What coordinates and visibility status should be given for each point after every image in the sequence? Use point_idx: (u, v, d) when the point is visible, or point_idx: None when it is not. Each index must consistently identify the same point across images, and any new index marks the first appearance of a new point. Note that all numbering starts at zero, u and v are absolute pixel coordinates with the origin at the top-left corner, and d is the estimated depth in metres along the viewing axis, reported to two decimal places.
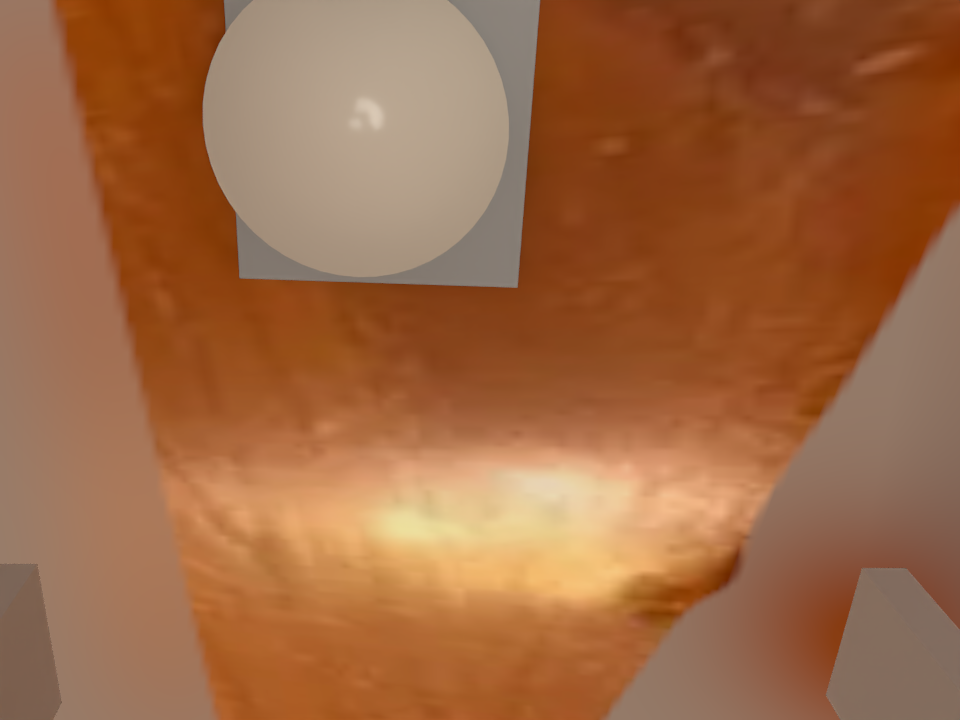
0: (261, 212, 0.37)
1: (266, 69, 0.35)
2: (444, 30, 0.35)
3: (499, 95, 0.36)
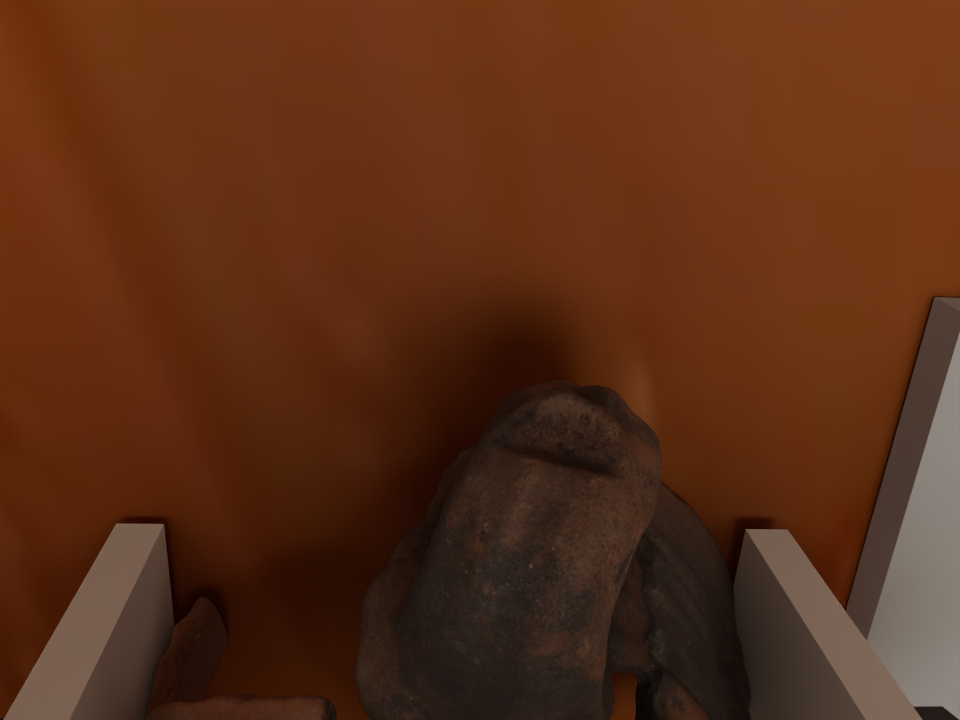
0: None
1: None
2: None
3: None
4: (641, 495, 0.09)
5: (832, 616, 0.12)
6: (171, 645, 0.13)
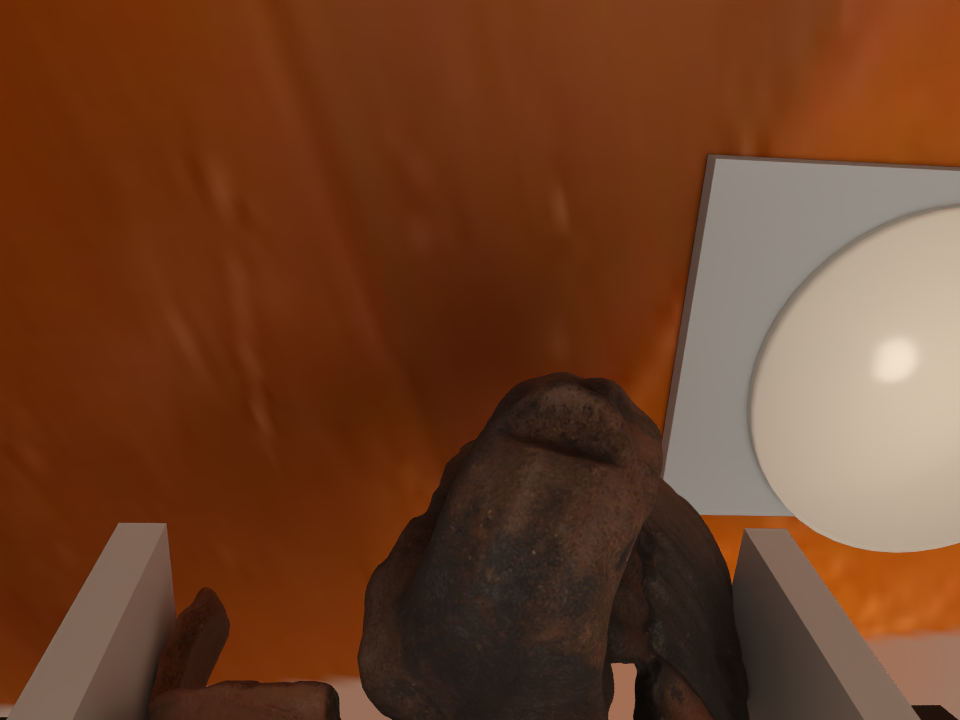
0: None
1: (850, 488, 0.30)
2: (846, 294, 0.27)
3: (938, 223, 0.26)
4: (642, 485, 0.09)
5: (830, 615, 0.12)
6: (175, 634, 0.13)
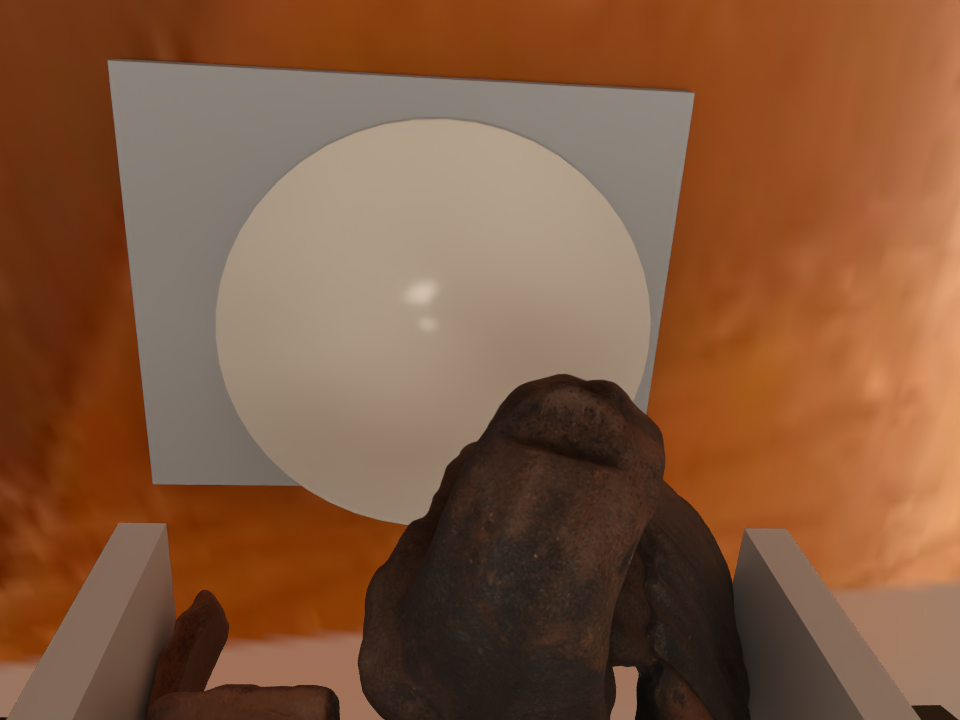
0: None
1: (358, 452, 0.26)
2: (290, 222, 0.23)
3: (378, 137, 0.23)
4: (645, 487, 0.09)
5: (830, 615, 0.12)
6: (173, 637, 0.13)
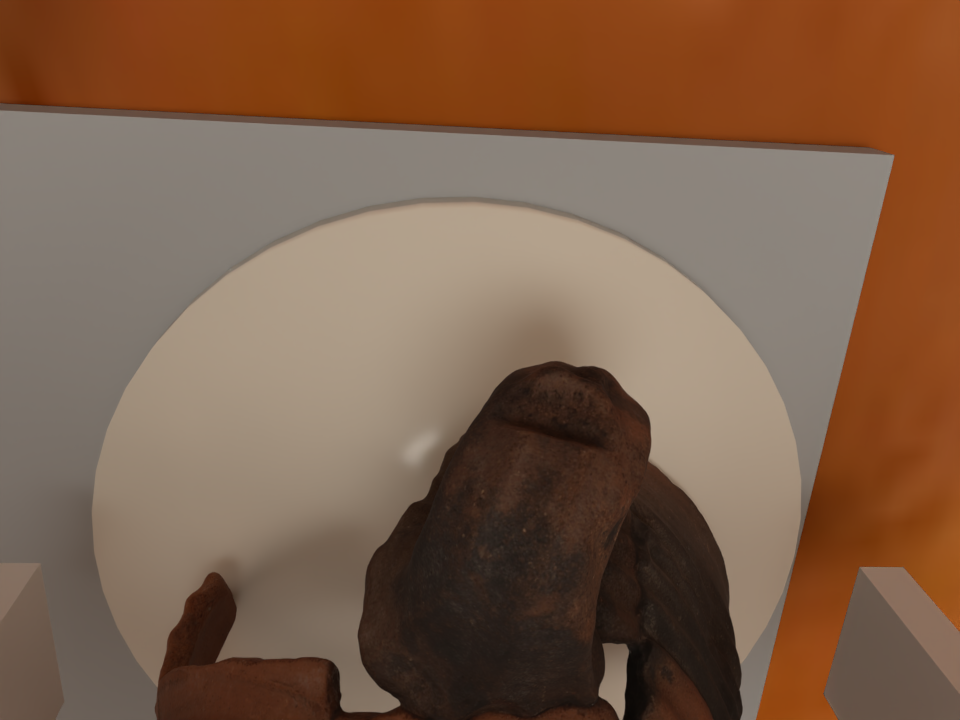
0: None
1: None
2: (210, 375, 0.14)
3: (359, 236, 0.13)
4: (630, 467, 0.09)
5: None
6: (183, 616, 0.14)
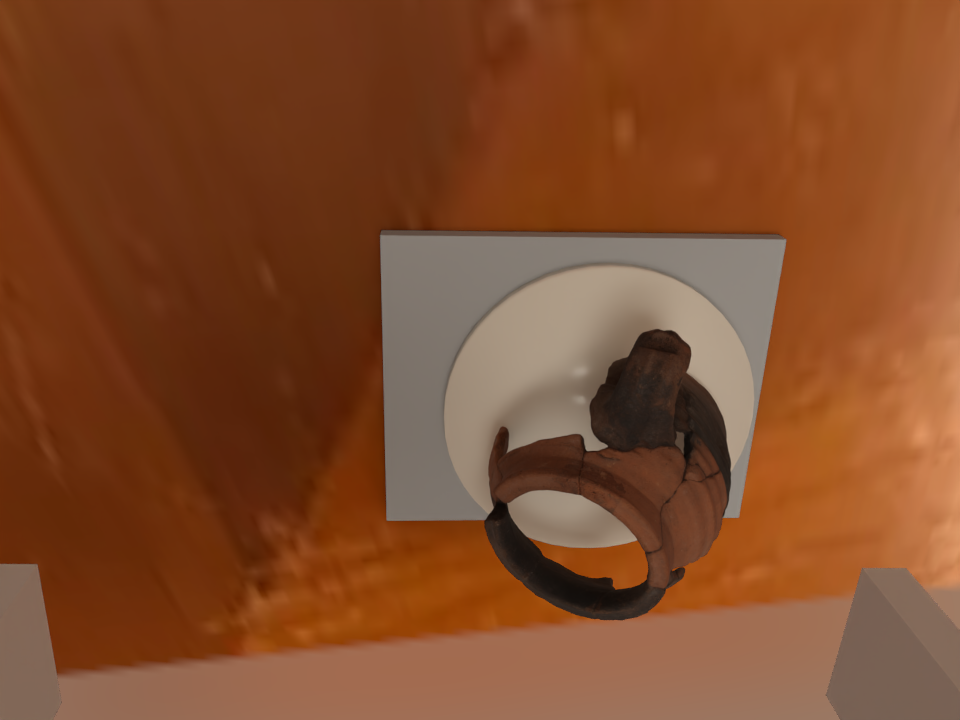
0: None
1: (539, 496, 0.36)
2: (501, 339, 0.33)
3: (566, 281, 0.33)
4: (685, 360, 0.28)
5: None
6: (497, 441, 0.33)
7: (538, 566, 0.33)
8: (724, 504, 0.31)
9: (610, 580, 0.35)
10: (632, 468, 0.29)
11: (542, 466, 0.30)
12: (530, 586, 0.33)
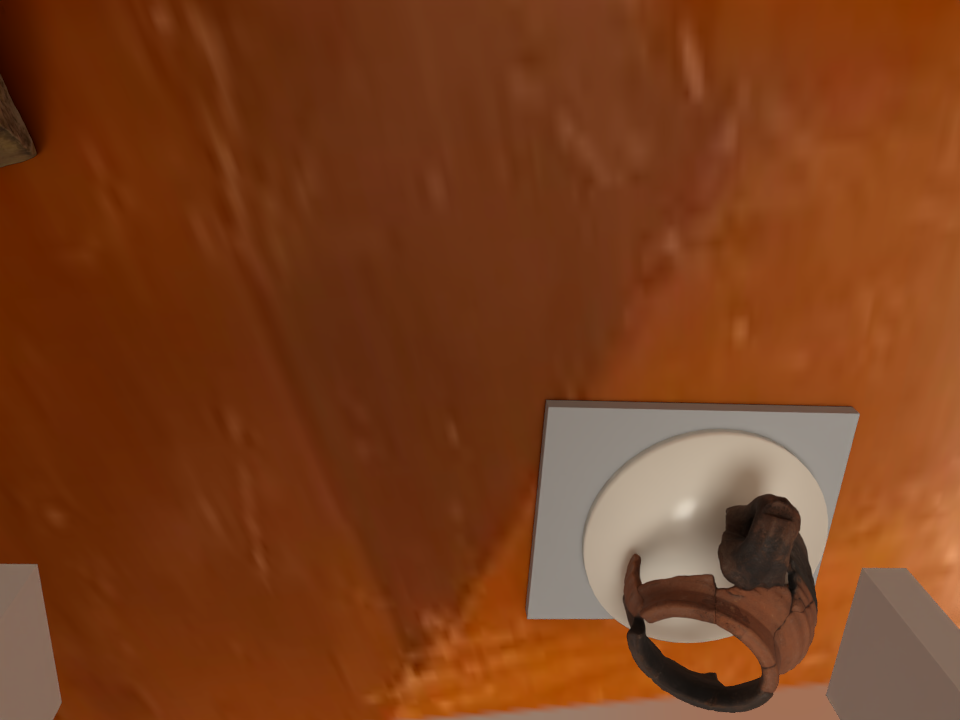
0: None
1: None
2: (636, 486, 0.42)
3: (691, 445, 0.42)
4: (797, 525, 0.38)
5: None
6: (634, 567, 0.42)
7: (664, 666, 0.42)
8: (815, 625, 0.41)
9: (715, 675, 0.44)
10: (753, 603, 0.38)
11: (683, 598, 0.39)
12: (658, 683, 0.42)
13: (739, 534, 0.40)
